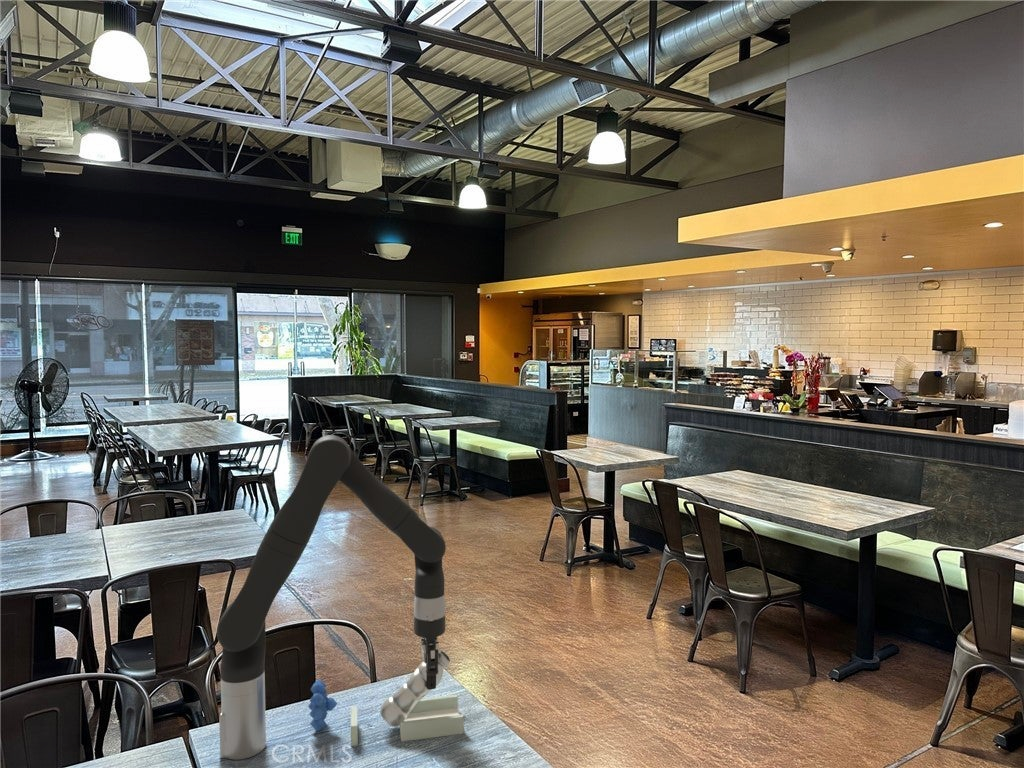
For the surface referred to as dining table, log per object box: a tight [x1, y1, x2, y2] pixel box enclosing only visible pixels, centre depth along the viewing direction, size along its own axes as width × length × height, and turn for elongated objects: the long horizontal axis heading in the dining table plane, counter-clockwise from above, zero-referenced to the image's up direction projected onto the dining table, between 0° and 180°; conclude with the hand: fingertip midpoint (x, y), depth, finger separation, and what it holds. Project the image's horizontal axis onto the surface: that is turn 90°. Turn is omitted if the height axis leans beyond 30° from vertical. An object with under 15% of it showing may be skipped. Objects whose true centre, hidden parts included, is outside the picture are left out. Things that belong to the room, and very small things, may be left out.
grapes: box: [307, 679, 338, 732], centre depth 161 cm, size 12×7×12 cm, turn 11°
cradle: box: [398, 694, 465, 742], centre depth 163 cm, size 14×11×4 cm
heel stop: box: [350, 705, 359, 746], centre depth 159 cm, size 2×9×4 cm, turn 13°
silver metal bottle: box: [379, 650, 452, 728], centre depth 162 cm, size 6×7×20 cm
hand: (429, 681), depth 163 cm, fingers closed on silver metal bottle, 6 cm apart
